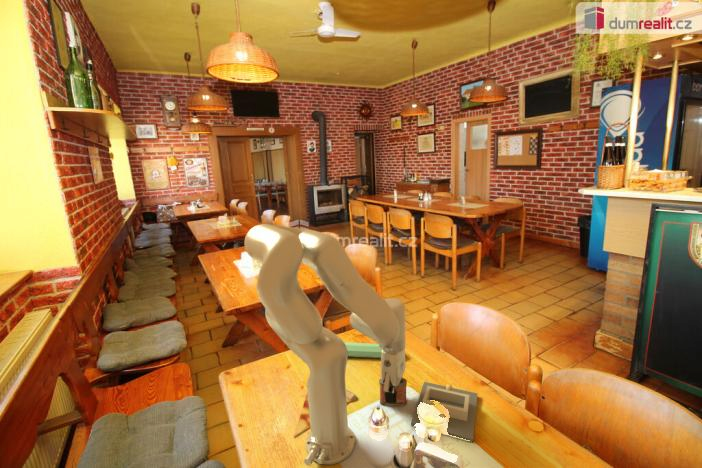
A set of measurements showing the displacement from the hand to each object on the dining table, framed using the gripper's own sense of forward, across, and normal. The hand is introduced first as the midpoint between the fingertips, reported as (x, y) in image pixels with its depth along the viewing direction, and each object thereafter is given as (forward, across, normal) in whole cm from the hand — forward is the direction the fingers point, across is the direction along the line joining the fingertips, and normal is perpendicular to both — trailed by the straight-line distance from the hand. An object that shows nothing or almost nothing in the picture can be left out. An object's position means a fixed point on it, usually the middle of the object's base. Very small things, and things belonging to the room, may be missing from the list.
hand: (393, 396), depth 102 cm
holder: (+2, +2, -15) cm, 15 cm away
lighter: (+2, 0, 0) cm, 2 cm away
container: (+3, +20, +16) cm, 26 cm away
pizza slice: (+3, -8, +23) cm, 25 cm away
